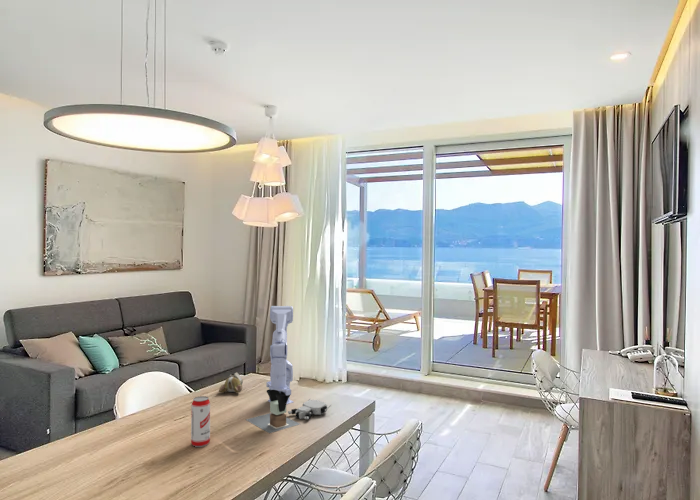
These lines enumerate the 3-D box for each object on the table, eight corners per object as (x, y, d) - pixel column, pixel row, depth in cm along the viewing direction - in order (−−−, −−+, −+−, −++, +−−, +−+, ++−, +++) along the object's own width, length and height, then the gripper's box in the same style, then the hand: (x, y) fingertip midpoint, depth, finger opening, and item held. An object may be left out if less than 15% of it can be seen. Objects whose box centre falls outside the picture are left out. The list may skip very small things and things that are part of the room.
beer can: (213, 442, 165) (214, 396, 165) (202, 449, 159) (202, 402, 159) (198, 439, 167) (199, 394, 167) (187, 446, 161) (187, 400, 161)
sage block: (270, 412, 181) (270, 401, 181) (279, 409, 184) (279, 399, 184) (276, 415, 178) (276, 404, 178) (286, 412, 181) (286, 402, 181)
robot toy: (307, 426, 183) (332, 413, 195) (307, 415, 183) (332, 402, 194) (286, 419, 191) (311, 407, 202) (285, 408, 191) (310, 396, 202)
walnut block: (269, 424, 181) (270, 413, 181) (279, 421, 184) (279, 411, 184) (276, 427, 178) (276, 417, 178) (286, 424, 181) (286, 414, 181)
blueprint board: (245, 420, 186) (245, 419, 186) (275, 412, 195) (275, 411, 195) (269, 434, 173) (269, 432, 173) (300, 425, 182) (300, 423, 182)
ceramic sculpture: (247, 369, 231) (239, 379, 217) (247, 386, 232) (240, 397, 217) (225, 369, 232) (216, 379, 217) (226, 386, 232) (217, 397, 217)
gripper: (259, 372, 184) (259, 406, 184) (280, 380, 173) (279, 416, 173) (275, 369, 188) (274, 403, 188) (296, 376, 178) (295, 412, 178)
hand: (278, 409), depth 181 cm, fingers closed on sage block, 4 cm apart
